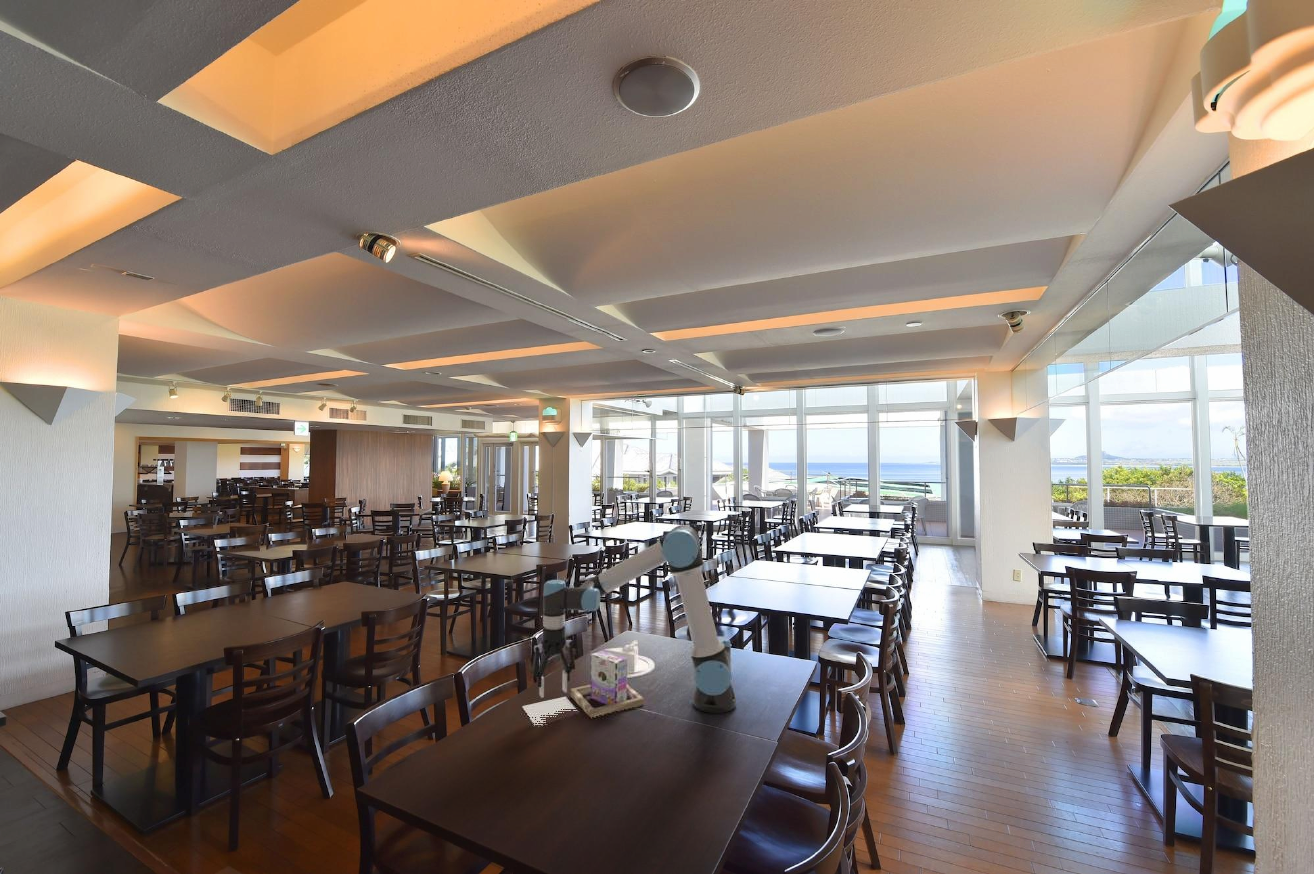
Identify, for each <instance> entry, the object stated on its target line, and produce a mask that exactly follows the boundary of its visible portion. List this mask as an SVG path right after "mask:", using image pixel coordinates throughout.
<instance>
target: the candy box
mask: <svg viewBox="0 0 1314 874" xmlns="http://www.w3.org/2000/svg"><path fill="white" fill-rule="evenodd" d="M590 685H591V694H590V699H593V700H594V701H597V702H599V703H600V704H604V705H605V706H606V705H610V704H614V703H618V702H623V701H627V700H628V699H627V698H628V696H627V685H628V678H627V659H625V658H622V657H619V656H616V655H613V654H610V653H608V652H605V651H604V650H599V651H597V652H593V653H591V654H590Z"/></svg>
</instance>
